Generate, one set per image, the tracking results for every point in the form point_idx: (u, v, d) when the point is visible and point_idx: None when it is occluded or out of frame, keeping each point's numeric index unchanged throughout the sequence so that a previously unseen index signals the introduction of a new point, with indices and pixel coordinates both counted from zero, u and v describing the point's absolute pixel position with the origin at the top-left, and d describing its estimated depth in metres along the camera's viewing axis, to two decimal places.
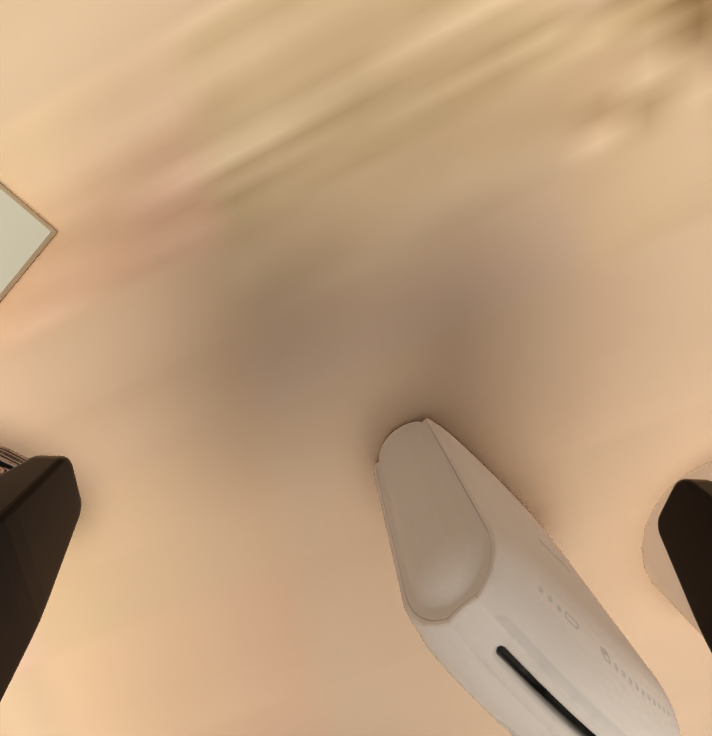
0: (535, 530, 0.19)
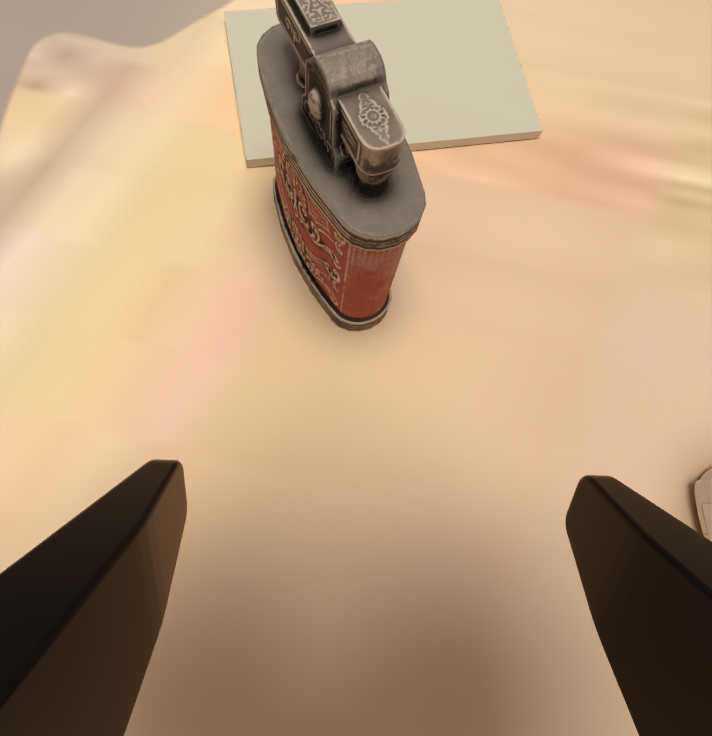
0: None
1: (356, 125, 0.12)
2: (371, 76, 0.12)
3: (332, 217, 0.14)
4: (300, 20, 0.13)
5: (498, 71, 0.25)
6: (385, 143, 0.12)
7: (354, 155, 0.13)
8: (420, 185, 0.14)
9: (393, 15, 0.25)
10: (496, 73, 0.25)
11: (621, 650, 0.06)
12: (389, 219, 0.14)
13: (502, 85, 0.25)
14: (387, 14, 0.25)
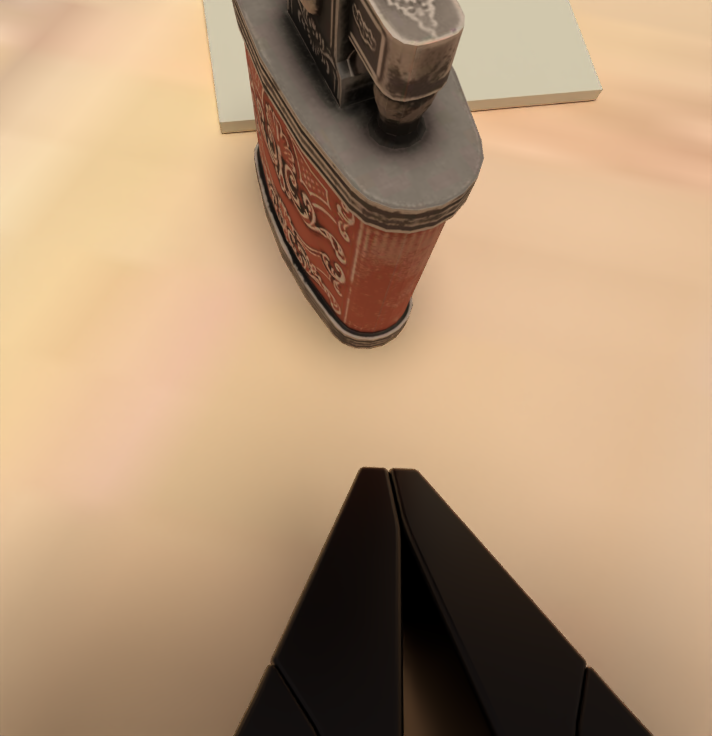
0: None
1: (377, 3, 0.07)
2: None
3: (334, 179, 0.09)
4: None
5: (543, 16, 0.20)
6: (430, 35, 0.07)
7: (373, 65, 0.08)
8: (474, 129, 0.09)
9: None
10: (541, 18, 0.20)
11: None
12: (426, 180, 0.09)
13: (549, 33, 0.19)
14: None
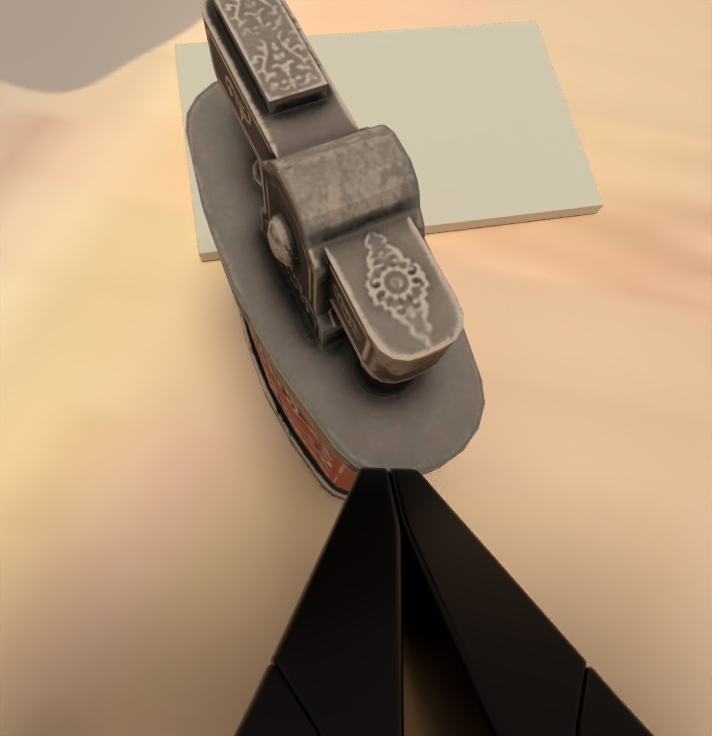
0: None
1: (361, 304, 0.06)
2: (391, 200, 0.06)
3: (317, 428, 0.08)
4: (249, 85, 0.07)
5: (541, 123, 0.19)
6: (424, 344, 0.06)
7: (357, 347, 0.07)
8: (473, 365, 0.08)
9: (401, 49, 0.19)
10: (539, 126, 0.19)
11: None
12: (421, 436, 0.08)
13: (547, 143, 0.18)
14: (393, 47, 0.19)
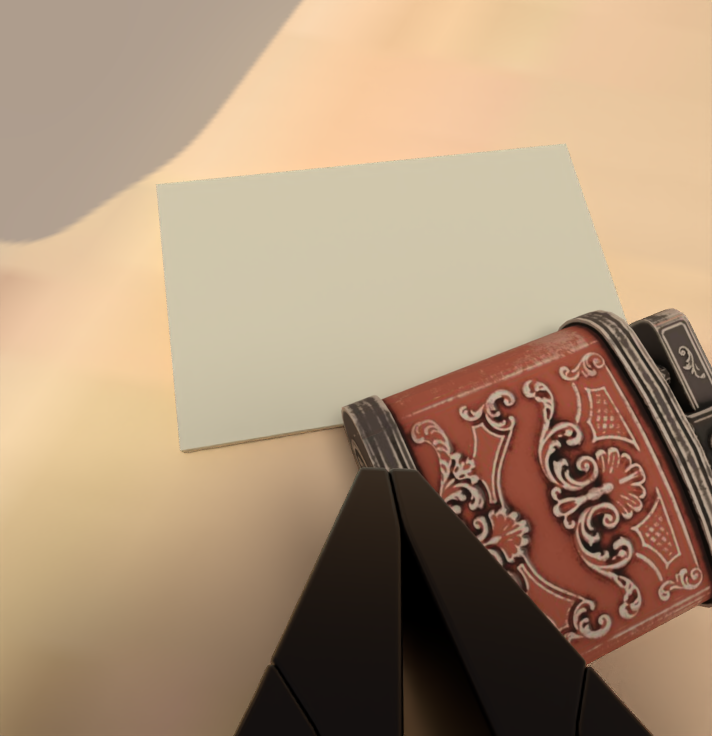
0: None
1: None
2: None
3: None
4: None
5: (572, 272, 0.16)
6: None
7: None
8: None
9: (413, 183, 0.17)
10: (570, 275, 0.16)
11: None
12: None
13: (580, 297, 0.16)
14: (404, 181, 0.17)
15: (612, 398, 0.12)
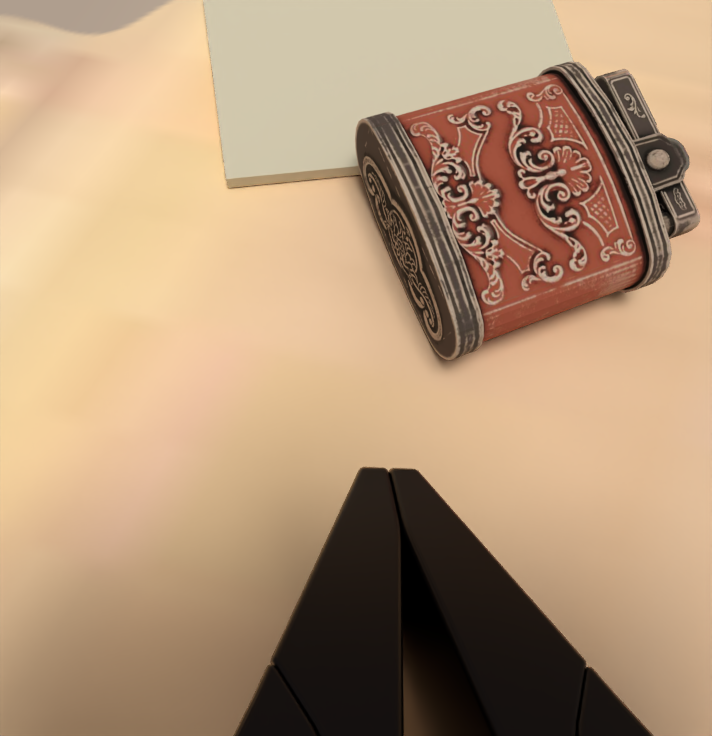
0: None
1: (690, 200, 0.17)
2: None
3: (655, 230, 0.15)
4: (646, 111, 0.17)
5: (545, 67, 0.20)
6: (690, 226, 0.17)
7: (677, 212, 0.17)
8: None
9: None
10: (542, 69, 0.20)
11: None
12: None
13: None
14: None
15: (567, 113, 0.16)
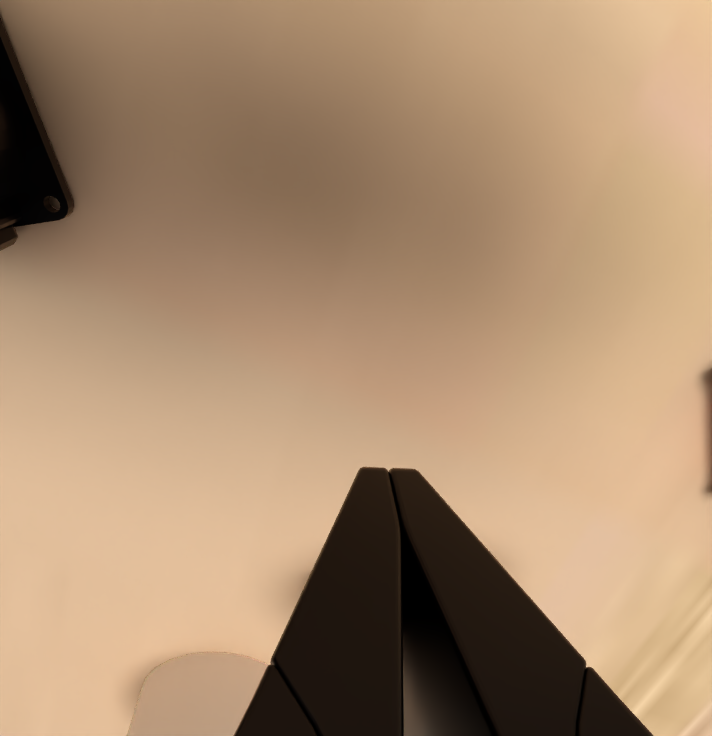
0: None
1: None
2: None
3: None
4: None
5: None
6: None
7: None
8: None
9: None
10: None
11: None
12: None
13: None
14: None
15: None
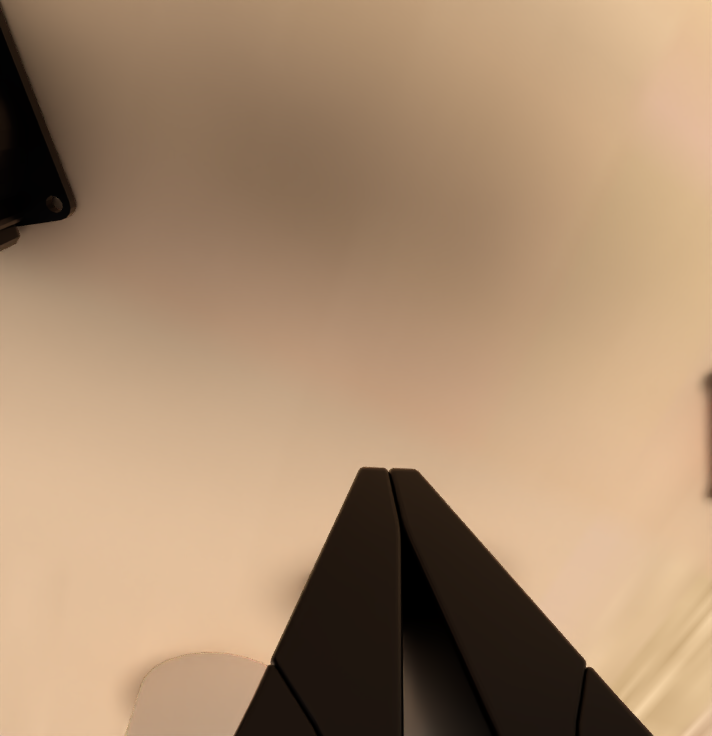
0: None
1: None
2: None
3: None
4: None
5: None
6: None
7: None
8: None
9: None
10: None
11: None
12: None
13: None
14: None
15: None
